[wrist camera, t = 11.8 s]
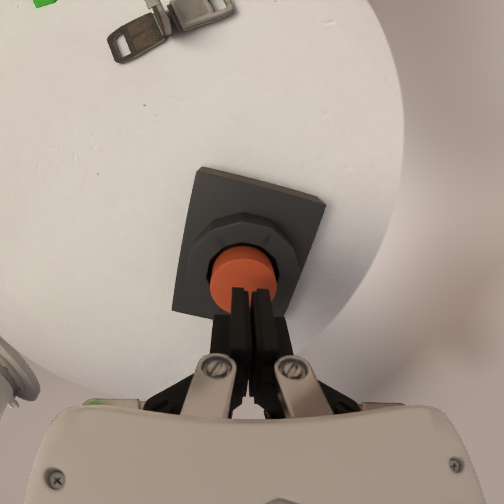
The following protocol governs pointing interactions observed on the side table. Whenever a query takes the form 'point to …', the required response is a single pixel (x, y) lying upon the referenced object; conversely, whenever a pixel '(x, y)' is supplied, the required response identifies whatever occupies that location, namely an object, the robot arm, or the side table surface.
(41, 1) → the gemstone
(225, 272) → the button
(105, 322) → the side table surface
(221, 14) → the strap clip
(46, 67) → the side table surface
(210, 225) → the button box
